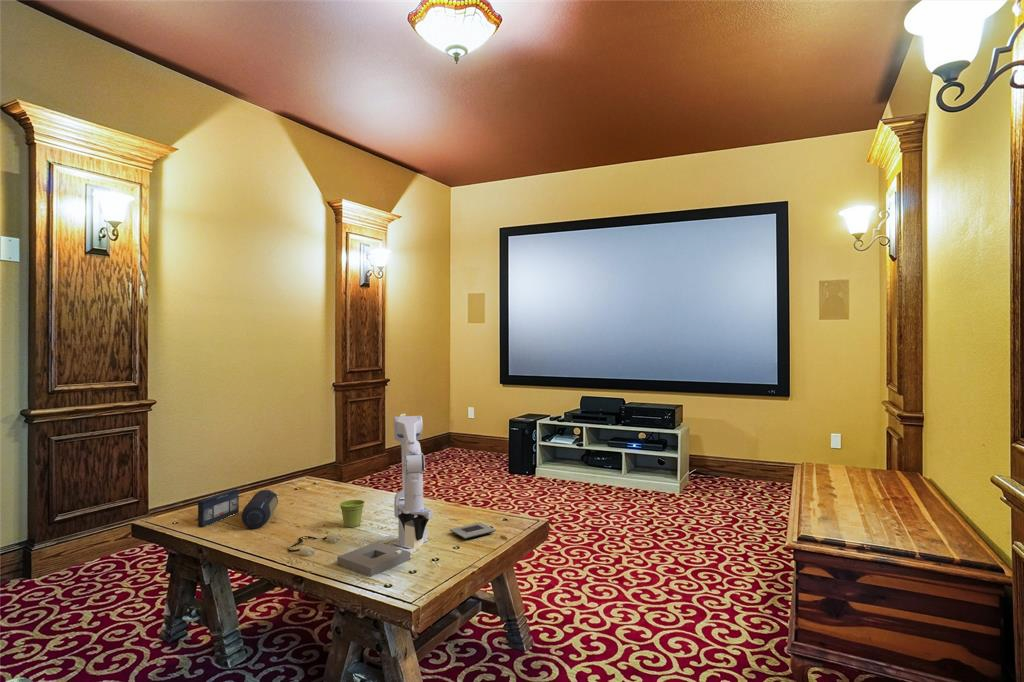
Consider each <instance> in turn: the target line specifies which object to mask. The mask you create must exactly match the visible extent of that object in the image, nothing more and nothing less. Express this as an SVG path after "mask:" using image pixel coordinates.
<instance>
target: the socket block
mask: <svg viewBox="0 0 1024 682" xmlns="http://www.w3.org/2000/svg"><path fill="white" fill-rule="evenodd" d="M374 557H375V558H374ZM336 560H337V565H338V564H339V565H338V566H340V565H342V566H341V567H343V566H345V567H344V568H346V567H347V568H346V569H349V568H350V569H349V570H351V569H353V570H352V571H354V570H356V571H355V572H357V571H358V572H357V573H360V574H362V573H363V575H365V574H366V576H368V575H369V577H373V575H374V576H375V574H376V575H378V574H380V572H381V573H382V572H385V571H387V570H390V569H392V568H394V567H397V566H399V565H401V564H403V563H405V562H409V561H410V560H411V551H410V550H409V551H408V550H406V549H402V548H399V547H396V546H392V545H388V544H387V543H383V542H379V541H375V542H373V543H369V544H367V545H364V546H361V547H359V548H356V549H354V550H351V551H348V552H346V553H343V554H340V555H338V556H337V559H336Z"/></svg>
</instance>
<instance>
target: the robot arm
mask: <svg viewBox="0 0 1024 682" xmlns="http://www.w3.org/2000/svg"><path fill="white" fill-rule="evenodd" d="M423 423H424V422H423V417H422V416H421V415H420V414H419V415H404V416H396V415H395V416H394V417H393V437H394V441H397V442H399V444H400V446H401V480H402V481H401V482H402V485H401V487H402V488H401V489H400V490H399V491H398V492H396V494H395V495H394V504H393V509H394V513H393V514H394V517H395V518H396V519H397V520H398V522H397V523H398V524H397V525H398V531H397V532H398V540H396V541H394V542H392V544H393V545H395V546H397V547H398V546H399V547H402V548H405V549H412V548H411V547H408V546H405V523H406V522H409V521H411V520H413V522H414V526H415V535H416V540H420V539H422V538H423V544H425V543H427V542H428V541H429V539H428V538H427V524H428V522H429V520H430V519H433V518H434V511H433V510H430V509H429V508H427V507H425V505H424V504H425V503H424V473H425V469H426V465H425V464H426V461H425V455H424V453H423V452H422V448H421V443H420V441H418V440H420V439H421V437H422V435H423V434H422V433H423V428H424V427H423Z"/></svg>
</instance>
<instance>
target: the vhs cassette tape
mask: <svg viewBox="0 0 1024 682" xmlns="http://www.w3.org/2000/svg"><path fill="white" fill-rule="evenodd" d="M239 492H240V491H239V489H237V488H236V489H235V488H233V489H231V490H227V491H224V492H222V493H218V494H217V495H216V494H215V495H213V496H210V497H207V498H205V499H202V500H198V501H197V521H198V522H197V527H198V528H205V526H206V527H207V525H208V526H211V525H213V524H215V523H214V522H216V521H218V522H220V521H219V520H221V519H223V520H225V519H224V518H226V517H228V516H230V515H233V514H236V513H238V512H239V510H240V509H239V507H240V504H239V500H240V499H239V497H240V496H239V495H240V494H239ZM238 514H239V513H238ZM236 515H237V514H236ZM226 519H227V518H226ZM221 521H222V520H221ZM212 523H213V524H212ZM216 523H217V522H216ZM210 524H211V525H210Z"/></svg>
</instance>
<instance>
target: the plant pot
mask: <svg viewBox="0 0 1024 682" xmlns="http://www.w3.org/2000/svg"><path fill="white" fill-rule="evenodd" d="M365 502H366V501H365V500H362V499H348V500H343V501H341V502H340V503H338V504H339V506H340V510H341V514H342V520H343V526H346V527H345V528H348V527H353V528H356V527H355V526H357V527H358V526H359V525H360V524H362V516H363V508H364V506H365ZM360 526H361V525H360ZM360 526H359V527H360Z"/></svg>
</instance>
